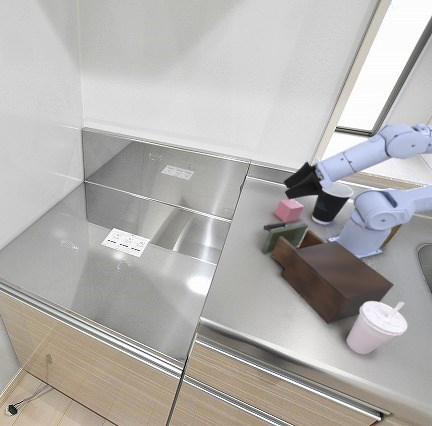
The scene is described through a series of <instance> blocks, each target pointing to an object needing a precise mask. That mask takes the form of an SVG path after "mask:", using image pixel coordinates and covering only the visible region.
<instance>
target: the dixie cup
mask: <svg viewBox="0 0 432 426" xmlns="http://www.w3.org/2000/svg"><path fill="white" fill-rule="evenodd" d="M333 185H334V186H333V187H330V188H328V189H325V190H324V189H323V188H322V190H323V192H324V194H325V195H322V196H320V195H317V197H316V201H315V203H314V207H313V209H312V213H311V215H312V216H311V219H312V221H314V222H316V223H317V224H320V225H330V224H331V222H333V221H334V219H335V218H336V217H337V215H338V214H339V213H340V212H341V210H342V208H343V207H344V206H345V205H346V203H348V200H350V198H351V197H353V195H354V193H355V192H354V190H353V189H352V188H351V187H349V185H346V184H344V183H341V182H338V181H336V182H333Z"/></svg>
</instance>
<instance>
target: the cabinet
mask: <svg viewBox="0 0 432 426" xmlns="http://www.w3.org/2000/svg"><path fill="white" fill-rule="evenodd" d="M281 277H282V278H283V279H284V280H285V281H286V283H288V285H290V287H292V289H293V290H295V292H296V293H297V294H298V295H299V296H300V297H301V298H302V299H303V300H304V301H305V303H307V304H308V305H309V306H310V308H312V309H313V311H314V312H316V313H317V315H318V316H319V317H320V318H321V319H322V320H323V321H324V322H325V323H326V324H327V325H330V324H333V323H335V322H340V321H343V320H346V319H349V318H354V317H356V316H359V314H360V307H361V306H362V305H363V304H364V303H365V302H368V301H376V302H380V303H381V301H382V300H383V299H384V298H385V296H386V295H387V294H388V293H389V292H390V290H392V288H393V287H394V285H395V284H394V283H393V282H391V281H390V280H388V279H387V278H386V277H385V276H384V275H382V274H381V273H379V272H378V271H377V270H375V269H374V268H372V267H371V265H369V264H367V263H366V262H365V261H363V260H362V258H358V257H357V256H355V255H354V254H353V253H351V252H350V251H349V250H347V249H346V248H345V247H343V246H342V245H341V244H339V243H338V242H337V241H331V242H329V241H326V243H322V244H318V245H314V246H310V247H305V248H301V249H297V250H293V252H292V255H291V257H290V259H289V261H288V263H287V265H286V267H285V268H284V269H283V271H282V273H281Z"/></svg>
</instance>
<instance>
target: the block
mask: <svg viewBox="0 0 432 426" xmlns="http://www.w3.org/2000/svg"><path fill="white" fill-rule="evenodd" d="M304 208H305V206H304V205H302V204H301V203H299V202H298V201H297V200H296V199H295V198H294V199H288V198H287V199H283V200H279V203H278V205H277V208H276V210H275V213H274V215H275V216H276V217H278V218H279V219H280V220H281V221H282V222H283V221H284V222H286V223H291V222H295V221H299V218H300V217H301V214H302V212H303V209H304Z"/></svg>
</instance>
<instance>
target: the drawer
mask: <svg viewBox="0 0 432 426" xmlns="http://www.w3.org/2000/svg"><path fill="white" fill-rule="evenodd" d="M308 227H309V225H308V224H307V223H306V222H303V223H299V224H293V225H290V226H289V225H287V222H284V221H283V220H282V221H279V222H278V221H277V222H273V223H269V224H265V225H263V227H262V228H263V230H264V231H267V232H268V234H267V237H266V240H265V241H264V245H263V247H262V252H264V254H267V253H271V252H272V253H271V256H272V258H274V259H275V261H276V262H277V263H278V264H279V265H280V266H282V267H283V268H284V269H285V267H286V265H287V263H288V261H289V259H290V257H291V255H292V252H293V250H297V249H301V248H305V247H310V246H314V245H318V244H322V243H327V241H324V240H323V239H322V238H321V237H320V236H318V235H317V234H315V233H314V232H313V231H312V230H310V229H308Z"/></svg>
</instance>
